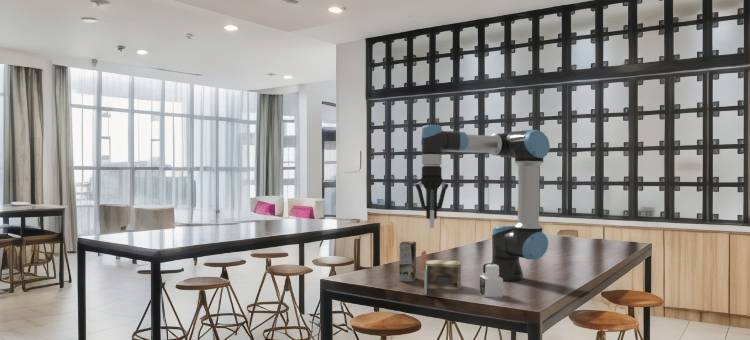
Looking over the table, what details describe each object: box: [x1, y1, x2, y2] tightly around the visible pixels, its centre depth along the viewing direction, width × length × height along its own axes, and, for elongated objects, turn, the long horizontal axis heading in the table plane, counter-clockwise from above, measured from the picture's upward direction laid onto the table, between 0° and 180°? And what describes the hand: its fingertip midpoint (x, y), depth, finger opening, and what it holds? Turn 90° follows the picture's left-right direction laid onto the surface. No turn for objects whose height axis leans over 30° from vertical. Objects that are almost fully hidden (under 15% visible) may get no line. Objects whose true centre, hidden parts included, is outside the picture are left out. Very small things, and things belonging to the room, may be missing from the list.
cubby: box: [426, 259, 462, 291], centre depth 231 cm, size 14×9×10 cm, turn 80°
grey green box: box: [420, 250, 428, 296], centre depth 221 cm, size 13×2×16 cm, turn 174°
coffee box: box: [398, 241, 417, 283], centre depth 246 cm, size 9×6×16 cm
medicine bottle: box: [479, 262, 504, 298], centre depth 216 cm, size 7×7×12 cm
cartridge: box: [437, 276, 449, 286], centre depth 231 cm, size 5×4×3 cm
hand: (431, 227), depth 216 cm, fingers closed
